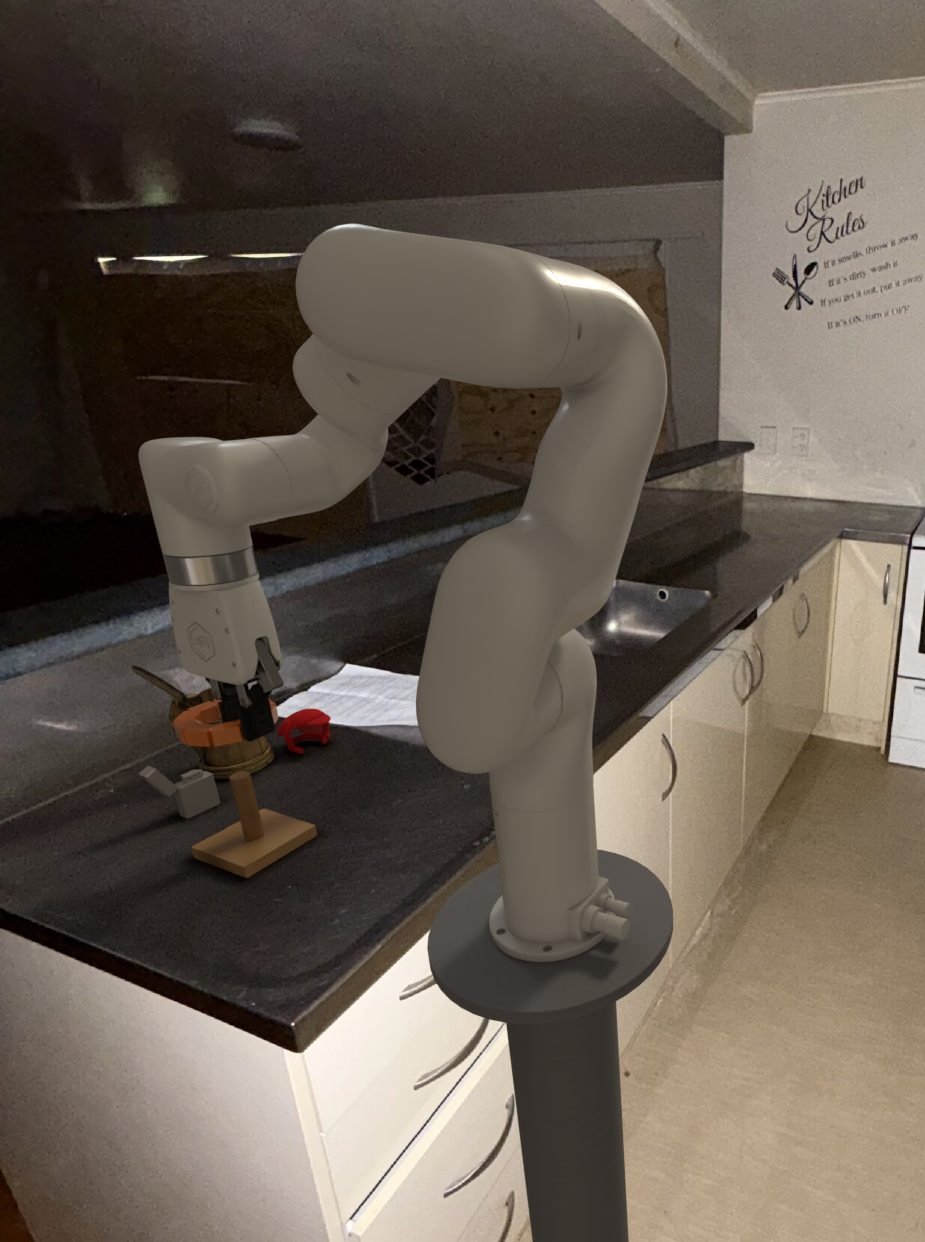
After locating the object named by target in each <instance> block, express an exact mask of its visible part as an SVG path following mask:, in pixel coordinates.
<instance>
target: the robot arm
mask: <svg viewBox="0 0 925 1242" xmlns="http://www.w3.org/2000/svg"><path fill="white" fill-rule="evenodd" d="M295 296H296V301H297V306H298V309H299V312H300V314H301V317H302V320H303V321H304V323H305V324H306V326H307V327H308V329H309V330H310V331H311V333H312V334H311V335H310V336H309V338H308V339H306V340H305V342H304V343H302V345H301V346H300V347H299V348H298V349H297V351H296V352H295V354H294V357H293V362H292V373H293V378H294V382H295V383H296V386H297V388H298V390H299V391H300V393H301V395H302V397H303V398H304V400H305V401H306V402H307V404H308V405H309V406H310V407H311V408H312V409H313V410H314V411H315V412H316V414H317V415H316V416H315V417H314V418H312V420H311V421H310V422H309V423H308V424H307V425H306V426H305V427H303V428H302V429H301V430H300V431H298V432H297V433H295V434H289V435H288V434H287V435H272V436H271V435H270V436H260V437H249V438H243V439H231V440H221V439H218V438H215V437H205V436H179V437H164V438H156V439H155V438H154V439H151V440H150V439H149V440H148V441H145V442H144V443H142V444H141V445H140V447H139V450H138V462H139V466H140V471H141V474H142V475H141V476H142V479H143V482H144V487H145V490H146V494H147V498H148V502H149V506H150V510H151V514H152V515H151V516H152V518H153V522H154V526H155V530H156V534H157V538H158V541H159V545H160V549H161V552H162V557H163V561H164V565H165V571H166V573H167V577H168V602H169V611H170V618H171V625H172V630H173V636H174V641H175V647H176V650H177V654H178V658H179V663H180V665H181V668H182V669H183V670H185V671H186V672H187V673H189V674H192V675H195V676H198V677H201V678H204V679H205V681H206V682H207V683H208V684H209V686H210V688H211V690H212V694H213V697H214V698H215V699H216V700H217V701H220V700H221V701H220V702H218V705H219V709H220V713H221V717H222V722H223V723H225V722H231V721H236V720H239V719H240V723H241V728H242V732H243V736H244V740H246V741H249V742H251V741H254V740H256V739H258V738H260V737H263V736H264V737H265V736H267V735H269V734H272V733H274V731H276V726H275V724H274V720H273V716H272V711H271V707H270V702H269V699H270V700H271V699H272V697H273V693H272V692H273V691H274V690H276V689H279V688H282V687H283V686H284V685H285V683H284V679H283V677H282V676H281V673H280V670H281V669H282V665H283V659H282V651H281V646H280V642H279V641H280V640H279V637H278V631H277V629H276V626H275V622H274V618H273V615H272V611H271V608H270V605H269V603H268V600H267V597H266V594H265V591H264V589H263V587H262V584H261V581H260V580H259V578H260V574H259V573H260V572H259V568H258V564H257V559H256V554H255V550H254V544H253V540H252V537H251V535H252V534H251V530H250V526H255V525H259V524H265V523H269V522H275V521H277V520H281V519H285V518H289V517H295V516H300V515H308V514H312V513H317V512H320V511H323V510H326V509H328V508H330V507H333V506H334V505H336V504H338V503H339V502H341V501H342V500H343V499H345V498H346V497H347V496H348V495H350V494H351V493H352V492H353V491H355V489H357V488H358V487H359V486H360V485H361V484H362V483H363V482H364V481H366V480H367V479H368V478H369V476H371V475H372V474H373V473H374V472H375V471H376V469H377V468H378V467H379V466H380V464H381V462H382V460H383V458H384V456H385V455H384V454H385V451H386V448H387V445H388V440H389V427H390V426H391V425H392V424H393V423H394V422H396V420H398V418H399V417H400V416H401V415H403V414H404V413H405V412H406V411H407V410H408V409H409V408H410V407H411V406H412V405H413V404H414V403H415V402H416V401H418V399H420V398H421V397H422V396H423V395H424V394H425V393H426V392H427V391H429V389H430V388H431V387H433V386H434V384H436V383H437V382H438V381H439V380H440V379H445V380H450V381H455V382H461V383H464V384H471V385H475V386H481V387H488V388H497V389H514V390H515V389H516V390H517V389H518V390H520V389H521V390H522V389H549V388H550V389H554V388H559V389H560V391H561V400H560V404H559V405H558V406H559V407H558V409H557V410H556V413H555V415H554V417H553V418H552V420H551V422H550V424H549V425H548V427H547V429H546V431H545V433H544V435H543V437H542V439H541V442H540V444H539V446H538V449H537V452H536V456H535V458H534V459H535V460H534V465H533V470H532V473H531V474H532V475H531V479H530V483H529V486H528V489H527V493H526V496H525V499H524V502H523V505H522V507H521V509H520V511H519V513H518V515H517V516H516V517H515V518H513V520H511V521H509V522H508V523H504V524H502V525H498V526H495V527H492V528H490V529H487V530H484V531H482V532H480V533H478V534H476V535H474V536H472V537H470V538H469V539H467V540H466V541H465V542H464V543H463V544H462V545H461V546H459V548H457V550H456V551H455V552H454V553H453V555H452V556H451V558H450V559H449V560H448V562H447V564H446V565H445V567H444V569H443V571H442V574H441V576H440V578H439V581H438V584H437V587H436V592H435V596H434V601H433V605H432V609H431V616H430V619H429V624H428V630H427V635H426V638H425V639H426V640H425V644H424V650H423V654H422V660H421V665H420V670H419V675H418V681H417V686H416V694H415V715H416V721H417V725H418V729H419V732H420V735H421V738H422V740H423V741H424V744H425V745H426V747H427V749H428V750H429V752H430V753H431V754H432V755H433V757H435V758H436V759H437V760H438V761H439V762H440V763H442V764H443V765H445V767H447V768H449V769H451V770H454V771H456V772H460V773H464V774H472V775H473V774H474V775H476V774H477V775H479V774H486V773H488V778H489V779H488V780H489V788H490V789H489V790H490V799H491V806H492V807H491V808H492V817H493V825H494V835H495V843H496V852H497V861H498V864H499V870H500V879H501V888H502V896H501V897H500V898H499V899H498V900H497V902H496V903H495V905H494V906H493V908H492V910H491V913H490V917H489V928H490V934H491V937H492V940H493V942H494V943H495V944H496V946H497V947H498V948H499V949H500V950H502V951H503V952H504V953H506V954H508V955H510V956H512V957H514V958H517V959H520V960H524V961H531V962H552V961H558V960H564V959H567V958H570V957H573V956H576V955H578V954H581V953H583V952H585V951H587V950H589V949H590V948H592V947H593V946H595V945H596V944H598V943H599V942H600V941H601V940H602V939H603V938H604V937H605V936H606V935H608V936H611V937H614V938H617V939H620V940H624V939H625V938H626V937H627V935H628V933H629V929H630V921H629V920H628V919H624V918H621V917H618V916H616V914H617V915H620V916H623V917H627V916H628V915H629V914H630V911H631V904H629V903H626V902H623V901H620V900H615V898H614V895H613V893H612V892H611V890H610V889H609V884H608V879H606V878H603V877H600V876H599V871H598V854H597V849H598V838H597V823H596V805H595V790H594V783H595V782H594V763H593V728H594V717H595V710H596V709H595V708H596V700H597V685H598V682H597V681H598V677H597V676H598V675H597V667H596V661H595V658H594V657H595V656H594V655H593V652H592V649H591V647H590V645H589V644H588V642H587V640H586V639H585V637H584V636H583V635H582V634H581V633H580V632H579V631H578V630H577V629H576V628H579V626H581V625H582V624H584V623H586V622H588V620H589V619H591V618H593V617H594V616H595V615H596V614H598V612H599V611H600V610H601V609H602V608H603V607H604V606H605V604H606V603H607V602H608V600H609V598H610V596H611V594H612V591H613V589H614V585H615V582H616V578H617V575H618V571H619V568H620V565H621V561H622V558H623V555H624V552H625V548H626V545H627V541H628V539H629V535H630V532H631V529H632V527H633V526H632V525H633V522H634V520H635V517H636V514H637V510H638V509H637V508H638V505H639V501H640V497H641V494H642V490H643V487H644V484H645V480H646V477H647V475H648V471H649V467H650V465H651V461H652V459H653V456H654V452H655V450H656V447H657V443H658V439H659V437H660V433H661V429H662V426H663V421H664V418H665V412H666V406H667V399H668V372H667V366H666V360H665V356H664V351H663V348H662V345H661V342H660V339H659V337H658V334H657V332H656V330H655V328H654V326H653V324H652V323H651V321H650V319H649V318H648V316H647V314H646V313H645V311H644V310H643V309H642V308H641V306H640V305H639V304H638V303H637V302H636V301H635V299H634V298H633V297H632V296H631V295H630V294H629V293H628V292H626V290H625V289H623V287H621V286H619V285H618V284H617V283H616V282H614V281H613V280H611V279H609V278H608V277H606V276H604V275H602V274H600V273H598V272H596V271H595V270H592V269H589V268H587V267H584V266H581V265H578V264H574V263H571V262H567V261H564V260H560V259H555V258H550V257H547V256H544V255H540V254H536V253H533V252H529V251H527V250H522V249H517V248H513V247H509V246H506V245H500V244H494V243H488V242H481V241H474V240H467V239H459V238H450V237H445V236H444V237H443V236H437V235H428V234H421V233H415V232H406V231H400V230H393V229H386V228H380V227H375V226H371V225H365V224H360V223H345V224H339V225H336V226H333V227H331V228H329V229H326V230H325V231H324V232H322V233H321V234H319V235H317V236H316V237H315V238H314V239H312V241H311V242H310V243H309V244H308V245H307V247H306V249H305V251H304V252H303V254H302V256H301V258H300V261H299V263H298V266H297V269H296V276H295ZM254 682H256V683H254ZM251 683H254V684H252V685H251V687H249V684H251Z"/></svg>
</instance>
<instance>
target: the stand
mask: <svg viewBox="0 0 925 1242" xmlns="http://www.w3.org/2000/svg"><path fill="white" fill-rule="evenodd" d="M251 776H252V775H251V774H250V773H249V772H247V771H241V772H237V773H234V774H232V775H231V776H230V777H229V779H228V780H229V784H230V787H231V791H232V795H233V799H234V803H235V806H236V810H237V814H238V818H239V819H238V820H239V821H237V822H235V823H233V824H232V825H230V826H228V827H225V828H224V829H222V830H220V831H218V832H216V833H215V834H213V835H211V836H209V837H207V838H205V839H204V840H201V841H199V842H197V843H195V844H194V845H192V846H191V847H190V849H191V853H192V856H193V859H196V860H199V861H201V862H204V863H206V864H209V865H211V866H213V867H217V868H219V869H222V870H223V871H224V870H225V871H227V872H230V873H232V874H235V875H237V876H240V877H243V878H245V879H248V878H250V877H252V876H253V875H255V874H256V873H258V872H260V871H262V870H264V869H265V868H267V867H268V866H270V865H271V864H273V863H275V862H277V861H278V860H279V859H282V858H283V857H285V856H287V855H288V854H289V853H291V852H293V851H295V850H296V849H298V848H299V847H301V846H303V845H304V844H306V843H307V842H309V841H311V840H313V839H315V838H316V837H317V836H318V831H317V827H316V824H313V823H310V822H307V821H304V820H301V819H299V818H298V819H297V818H295V817H291V816H289V815H286V814H282V813H280V812H276V811H274V810H270V809H268V808H262V809H260V808H259V805H258V801H257V797H256V792H255V789H254V785H253V781H252V777H251Z"/></svg>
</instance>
